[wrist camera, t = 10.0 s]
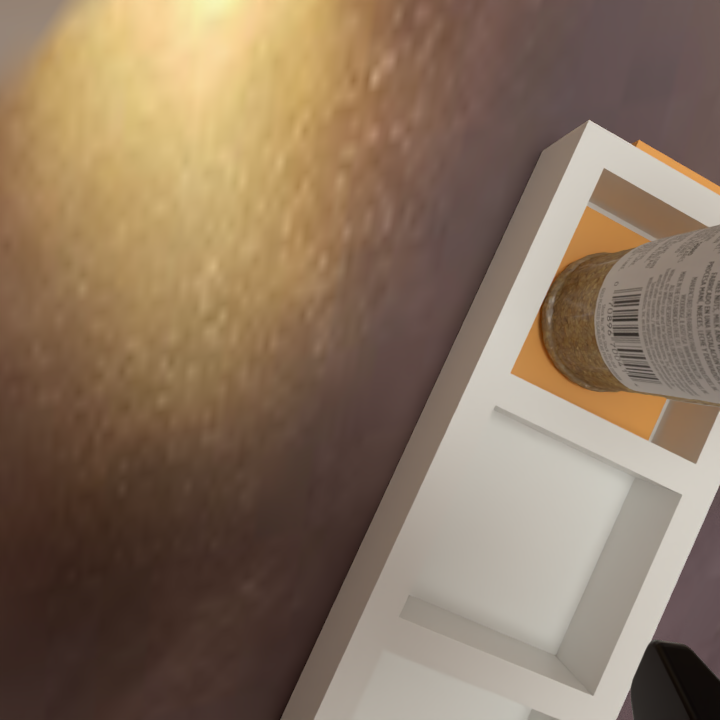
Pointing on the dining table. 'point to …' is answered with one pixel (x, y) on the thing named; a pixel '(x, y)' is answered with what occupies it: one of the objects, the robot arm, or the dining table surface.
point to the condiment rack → (528, 487)
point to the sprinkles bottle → (641, 319)
